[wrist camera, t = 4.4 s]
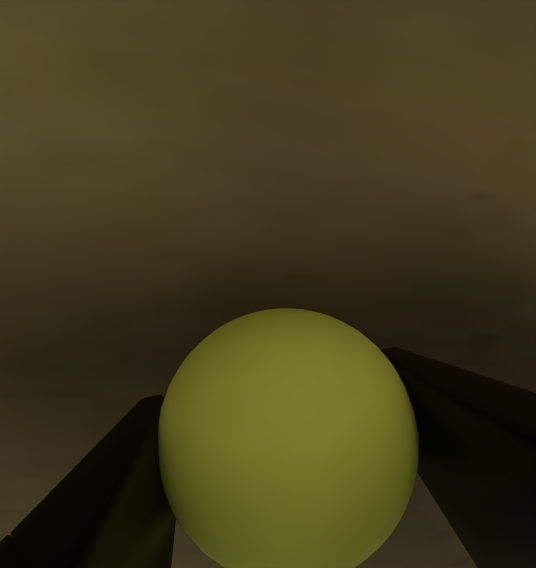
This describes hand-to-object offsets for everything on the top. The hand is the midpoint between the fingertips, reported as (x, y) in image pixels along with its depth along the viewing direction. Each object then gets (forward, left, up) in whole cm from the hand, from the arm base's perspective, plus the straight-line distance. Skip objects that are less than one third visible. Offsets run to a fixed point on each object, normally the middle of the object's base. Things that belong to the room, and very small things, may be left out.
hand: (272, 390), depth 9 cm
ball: (0, 0, +1) cm, 1 cm away
